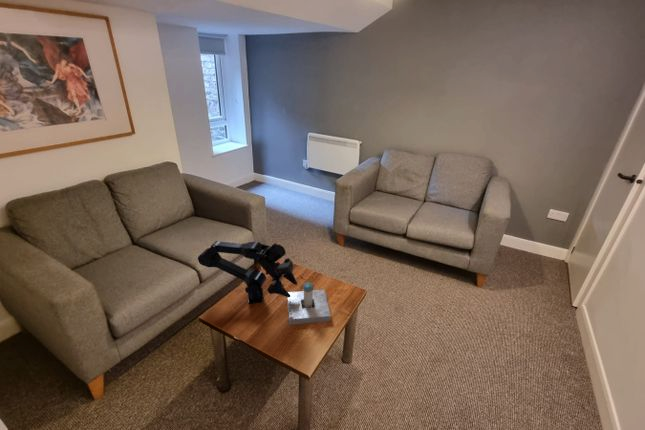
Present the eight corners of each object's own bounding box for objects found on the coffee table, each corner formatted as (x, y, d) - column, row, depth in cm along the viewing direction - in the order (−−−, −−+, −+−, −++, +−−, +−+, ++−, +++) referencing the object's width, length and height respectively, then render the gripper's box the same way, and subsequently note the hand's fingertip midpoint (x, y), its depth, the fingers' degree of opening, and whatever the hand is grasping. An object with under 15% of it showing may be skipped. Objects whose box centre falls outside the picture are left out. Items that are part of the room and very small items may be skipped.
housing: (289, 324, 134) (289, 319, 133) (287, 297, 150) (287, 292, 149) (330, 321, 137) (330, 315, 136) (324, 294, 153) (324, 289, 152)
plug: (306, 313, 141) (306, 290, 135) (301, 307, 144) (301, 284, 139) (314, 309, 143) (315, 286, 138) (309, 303, 147) (310, 281, 141)
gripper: (273, 269, 127) (299, 296, 130) (289, 246, 144) (311, 270, 146) (256, 281, 132) (281, 307, 135) (273, 258, 149) (295, 281, 151)
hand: (293, 290), depth 141 cm, fingers open, 9 cm apart
